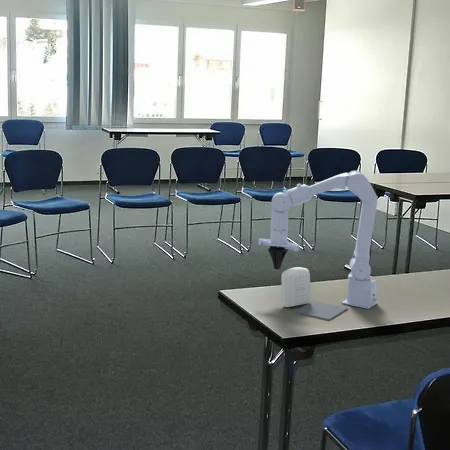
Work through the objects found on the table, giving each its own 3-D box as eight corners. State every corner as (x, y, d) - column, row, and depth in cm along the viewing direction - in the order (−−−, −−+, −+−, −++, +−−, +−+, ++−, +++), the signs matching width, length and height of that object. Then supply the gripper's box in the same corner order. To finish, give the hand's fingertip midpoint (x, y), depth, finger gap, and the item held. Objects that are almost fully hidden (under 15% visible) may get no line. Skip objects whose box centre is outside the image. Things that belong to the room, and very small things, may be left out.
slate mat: (347, 309, 220) (347, 307, 220) (329, 320, 208) (329, 319, 208) (314, 302, 226) (314, 300, 226) (294, 312, 215) (294, 311, 215)
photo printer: (304, 301, 227) (302, 264, 225) (313, 303, 223) (311, 266, 222) (280, 306, 221) (278, 268, 220) (288, 308, 217) (286, 270, 216)
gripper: (254, 227, 225) (252, 267, 227) (292, 234, 217) (290, 274, 220) (265, 224, 231) (263, 263, 233) (302, 230, 223) (300, 270, 225)
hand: (277, 268), depth 227 cm, fingers closed
